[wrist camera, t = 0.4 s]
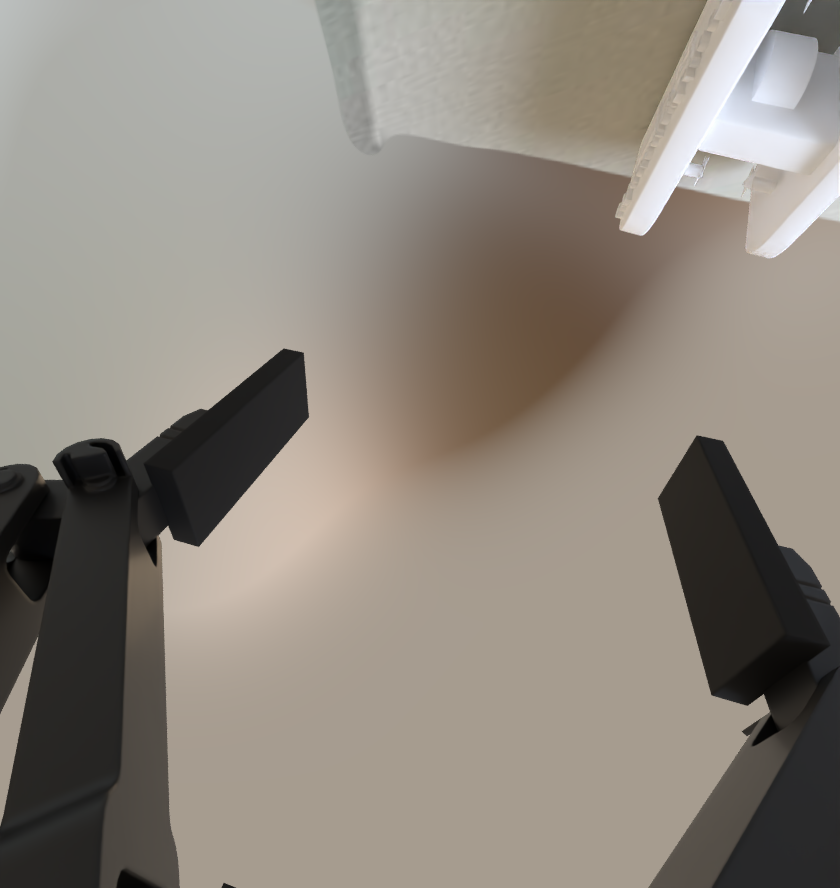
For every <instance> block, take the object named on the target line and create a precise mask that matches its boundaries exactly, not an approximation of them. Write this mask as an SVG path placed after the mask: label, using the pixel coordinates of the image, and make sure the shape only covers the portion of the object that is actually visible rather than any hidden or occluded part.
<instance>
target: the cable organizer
mask: <svg viewBox="0 0 840 888" xmlns="http://www.w3.org/2000/svg"><path fill="white" fill-rule="evenodd" d="M785 1H786V0H707V2H706V5H705V7H704V9H703V11H702V13H701V15H700V18H699V20H698V22H697V24H696V26H695V28H694V30H693V33H692V35H691V37H690V39H689V41H688V43H687V45H686V48H685V50H684V52H683V54H682V56H681V58H680V60H679V63H678V65H677V67H676V69H675V71H674V73H673V75H672V78H671V80H670V82H669V84H668V86H667V88H666V90H665V93H664V95H663V97H662V99H661V101H660V103H659V105H658V108H657V110H656V112H655V114H654V116H653V118H652V120H651V123H650V125H649V127H648V129H647V132H646V134H645V136H644V138H643V140H642V142H641V146H640V149H639V153H638V156H637V160H636V164H635V167H634V171H633V175H632V179H631V182H630V183H629V186H628V190H627V192H626V194H624V196H623V200H622V203H620V204H619V206H618V209H617V212H616V215H615V217H616V218H619V219H621V221H620V226H619V228H620V230H622V231H625V232H629V233H633V234H637V235H641V236H642V235H644V234H645V233H646V232H647V231H648V230H649V229H650V228H651V226H652V225H653V224H654V222H655V221H656V219H657V217H658V216H659V214H660V212H661V211H662V209H663V207H664V206H665V204H666V202H667V201H668V199H669V197H670V196H671V194H672V192H673V190H674V189H675V187H676V185H677V184H678V182H679V180H680V179H681V177H682V175H685V176H689V177H693V178H697V179H696V182H695V184H696V183H697V181H698V180H699V178H702V176H703V173H704V169H705V167H706V165H707V162H708V160H709V158H710V156H709V157H708V158H707V159H706V155H705V158H704V160H703V163H702V165H699V164H694V163H690V162H691V160H692V158H693V157H694V155H695V153H696V152H697V150H700V151H703V152H707V153H712V154H716V155H720V156H725V157H729V158H733V159H738V160H742V161H746V162H751V163H755V164H757V166H756V168H755V171H754V165H753V168H752V170H751V172H750V174H749V176H748V178H747V179H746V180H745V181H744V183H743V186H744V190H743V193H742V196H743V195H744V193H745V192H746V190H747V189H751V198H750V208H749V217H748V228H747V237H746V246H745V250H746V252H747V253H749V254H753V255H757V256H761V257H765V258H773V257H775V256H777V255H778V254H780V253H782V252H783V251H784V250H785V249H787V248H788V247H789V246H790V245H791V244H792V243H793V242H794V241H795V240H796V239H797V238H798V237H799V236H800V235H801V234H802V233H803V232H804V231H805V230H806V229H807V228H808V227H809V226H810V225H811V224H812V223H813V222H814V221H815V220H816V219H817V218H818V217H819V216H820V215H821V214H822V213H823V212H824V211H825V210H826V209H827V208H828V207H829V205H830V204H831V203H832V202H833V201H834V200H835V199H836V198H837V197H838V196H839V195H840V46H839V48H838V49H837V50H836V52H835V53H834V54H833V55H832V54H828V53H822V52H818V41H817V39H816V38H814V37H809V36H804V35H799V34H793V33H788V32H783V31H778V30H770V31H769V32H768V30H769V28H770V27H771V25H772V23H773V22H774V20H775V18H776V17H777V15H778V13H779V11H780V10H781V8H782V6H783V4H784V2H785ZM811 1H812V0H808V1H807V4H806V7H805V10H804V13H805V11H806V9H807V8H808V6H809V4H810V3H811ZM804 13H803V14H804ZM694 186H695V185H694ZM742 196H741V198H742Z"/></svg>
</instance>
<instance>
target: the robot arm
mask: <svg viewBox="0 0 840 888" xmlns="http://www.w3.org/2000/svg"><path fill="white" fill-rule="evenodd" d="M308 418H309V413H308V402H307V388H306V376H305V364H304V353H302V352H298V351H293V350H288V349H283V350H281V351H280V352H279V353H278V354H276V355H275V356H274V357H273V358H272V359H270V360H269V361H268V362H267V363H265V364H264V365H263V366H262V367H261V368H259V369H258V370H257V371H256V372H254V373H253V374H252V375H251V376H250V377H249V378H247V379H246V380H245V381H243V382H242V383H241V384H240V385H239V386H237V387H236V388H235V389H234V390H232V391H231V392H230V393H229V394H228V395H226V396H225V397H224V398H223V399H221V400H220V401H219V402H218V403H217V404H215V405H214V406H213V407H212V408H210V409H209V410H203V409H199V410H197V411H194V412H192V413H190V414H187V415H185V416H183V417H182V418H181V419H179V420H178V421H177V422H175V423H174V424H173V425H171V427H170V429H169V428H168V429H166V430H165V431H164V432H162V433H161V434H160V437H156V438H155V439H154V440H152V441H151V442H150V443H148V444H147V445H146V446H144V447H143V448H142V449H141V450H139V451H138V452H137V453H136V454H134V455H133V456H132V457H131V458H129V459H128V460H127V461H126V459H125V457H124V454H123V452H122V450H121V447H120V445H119V444H118V443H116V442H115V441H113V440H109V439H102V438H100V439H89V440H85V441H81V442H77V443H75V444H73V445H71V446H69V447H66V448H65V449H64V450H63V451H61V452H60V453H58V454H57V455H56V457H55V459H54V460H53V464H54V466H55V467H56V469H57V471H58V473H59V474H60V476H61V478H62V479H63V480H44V479H43V477H42V476H41V474H40V472H39V471H38V469H37V468H36V467H34V466H32V465H28V464H15V465H8V466H4V467H0V713H1V711H2V709H3V707H4V705H5V703H6V701H7V698H8V696H9V694H10V693H11V690H12V688H13V686H14V684H15V682H16V680H17V678H18V676H19V674H20V672H21V670H22V668H23V666H24V664H25V662H26V659H27V658H28V656H29V654H30V652H31V649H32V647H33V645H34V643H35V641H36V639H37V637H38V642H37V647H36V652H35V657H34V662H33V667H32V672H31V677H30V682H29V687H28V693H27V698H26V703H25V708H24V713H23V718H22V724H21V728H20V733H19V739H18V744H17V749H16V754H15V759H14V764H13V769H12V774H11V779H10V785H9V790H8V795H7V800H6V805H5V810H4V815H3V819H2V822H1V826H0V888H180V886H179V868H178V857H177V851H176V846H175V842H174V838H173V835H172V831H171V826H170V816H169V792H168V791H169V788H168V755H167V723H166V722H167V721H166V719H167V718H166V686H165V684H166V683H165V651H164V650H165V649H164V616H163V579H162V545H161V541H160V538H159V534H160V533H161V532H162V531H163V530H164V529H165V528H166V527H167V526H169V529H170V531H171V534H172V536H173V539H174V540H177V541H180V542H184V543H187V544H191V545H194V546H198V547H199V546H200V545H201V544H202V542H203V541H204V540H205V539H206V538H207V537H208V535H209V534H210V533H211V532H212V531H213V529H214V528H215V527H216V526H217V525H218V524H219V522H220V521H221V520H222V519H223V518H224V517H225V515H226V514H227V513H228V512H229V511H230V509H231V508H232V507H233V506H234V505H235V503H236V502H237V501H238V500H239V499H240V497H242V495H243V494H244V493H245V492H246V491H247V489H248V488H249V487H250V486H251V485H252V484H253V482H254V481H255V480H256V479H257V478H258V476H259V475H260V474H261V473H262V472H263V470H264V469H265V468H266V467H267V466H268V465H269V464H270V462H271V461H272V460H273V459H274V458H275V456H276V455H277V454H278V453H279V452H280V450H281V449H282V448H283V447H284V445H285V444H286V443H287V442H288V441H289V440H290V439H291V438H292V436H293V435H294V434H295V433H296V432H297V430H298V429H299V428H300V427H301V426H302V425H303V423H304V422H305V421H306V420H307V419H308ZM658 500H659V504H660V508H661V511H662V515H663V518H664V522H665V526H666V529H667V533H668V537H669V541H670V544H671V548H672V551H673V555H674V559H675V563H676V566H677V570H678V574H679V577H680V581H681V585H682V588H683V592H684V596H685V599H686V603H687V607H688V611H689V614H690V617H691V622H692V625H693V629H694V633H695V636H696V640H697V644H698V647H699V651H700V655H701V658H702V662H703V666H704V669H705V673H706V677H707V680H708V684H709V688H710V691H711V695H713V696H716V697H719V698H723V699H727V700H729V701H733V702H736V703H740V704H744V705H747V706H748V705H749V704H751V703H752V702H753V701H755V700H756V699H757V698H759V697H760V696H762V695H763V694H764V695H765V699H766V701H767V704H768V707H769V710H770V713H768V714H767V715H765V716H764V717H762V718H761V719H759V720H758V721H756V722H755V723H753V724H752V725H751V726H749V727H747V728H746V729H745V730H743V731H742V732H743V733H744V734H745V735H746V736H748V735H750V736H749V738H748V739H747V740H746V742H745V743H744V745H743V746H742V748H741V749H740V751H739V752H738V754H737V756H736V757H735V759H734V760H733V761H732V763H731V765H730V766H729V768H728V769H727V771H726V772H725V774H724V775H723V776H722V778H721V780H720V781H719V783H718V784H717V786H716V787H715V789H714V790H713V792H712V793H711V795H710V796H709V798H708V799H707V801H706V802H705V804H704V805H703V807H702V808H701V810H700V811H699V813H698V814H697V816H696V817H695V819H694V820H693V822H692V823H691V825H690V826H689V828H688V829H687V831H686V832H685V834H684V835H683V837H682V838H681V840H680V841H679V843H678V844H677V846H676V847H675V849H674V850H673V852H672V853H671V855H670V856H669V858H668V859H667V861H666V862H665V864H664V865H663V867H662V868H661V870H660V871H659V873H658V874H657V876H656V877H655V879H654V880H653V882H652V883H651V885H650V886H649V888H840V617H839V615H838V613H837V612H836V610H835V608H834V606H831V605H830V602H831V601H830V600H829V598H828V596H827V594H826V593H825V591H824V590H822V589H821V587H822V586H821V584H820V582H819V580H818V579H817V577H816V575H815V574H814V572H813V570H812V568H811V567H810V566H809V565H808V564H807V563H806V562H805V561H804V560H803V559H802V558H801V557H800V556H799V555H798V554H797V553H796V552H795V551H794V550H793V549H791V548H787V547H782V546H778V544H777V543H776V540H775V538H774V537H773V535H772V533H771V531H770V529H769V527H768V525H767V523H766V521H765V519H764V518H763V516H762V514H761V512H760V510H759V508H758V506H757V504H756V503H755V500H754V499H753V497H752V495H751V493H750V491H749V489H748V487H747V485H746V484H745V482H744V480H743V478H742V476H741V474H740V472H739V470H738V469H737V467H736V464H735V463H734V461H733V459H732V457H731V455H730V453H729V451H728V449H727V447H726V446H725V444H724V442H723V441H721V440H716V439H711V438H707V437H702V436H696V438H695V439H694V441H693V443H692V444H691V446H690V447H689V449H688V451H687V452H686V454H685V455H684V457H683V459H682V460H681V462H680V463H679V465H678V467H677V468H676V470H675V472H674V473H673V475H672V477H671V478H670V480H669V481H668V483H667V485H666V486H665V488H664V489H663V491H662V493H661V494H660V496H659V498H658ZM10 550H11V551H10ZM9 552H10V553H9ZM38 635H39V636H38ZM222 888H235V887H233V886H230V885H228V884H225V883H224V884H223V886H222Z"/></svg>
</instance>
